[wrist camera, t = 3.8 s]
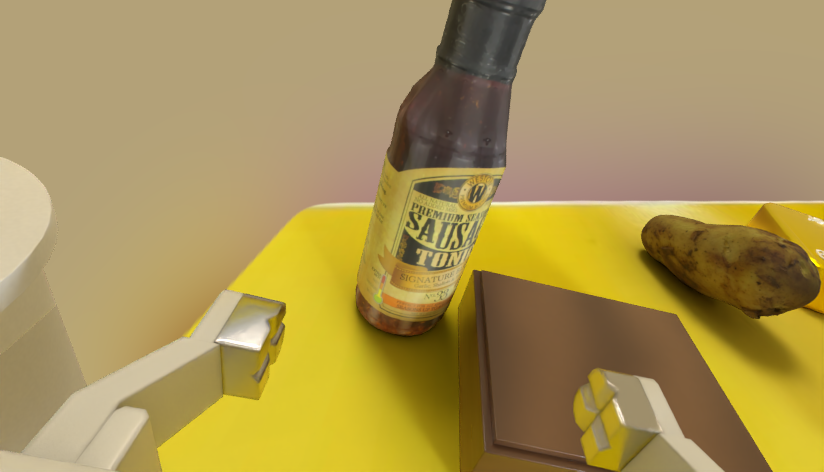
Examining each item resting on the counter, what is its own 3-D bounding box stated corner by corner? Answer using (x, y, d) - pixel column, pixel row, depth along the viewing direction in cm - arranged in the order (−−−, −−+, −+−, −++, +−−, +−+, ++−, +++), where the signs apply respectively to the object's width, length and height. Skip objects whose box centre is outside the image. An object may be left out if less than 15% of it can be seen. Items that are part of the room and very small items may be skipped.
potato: (695, 255, 43) (747, 188, 39) (784, 355, 33) (868, 280, 28) (622, 240, 42) (666, 170, 38) (688, 338, 32) (760, 258, 27)
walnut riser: (460, 491, 19) (487, 446, 17) (457, 307, 29) (475, 264, 27) (743, 547, 20) (805, 511, 18) (647, 350, 30) (679, 311, 28)
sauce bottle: (375, 353, 24) (479, -48, 13) (339, 282, 29) (395, -69, 17) (465, 328, 28) (610, -11, 16) (420, 268, 32) (512, -36, 21)
